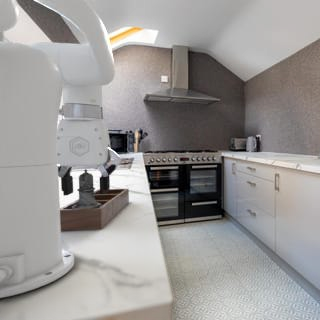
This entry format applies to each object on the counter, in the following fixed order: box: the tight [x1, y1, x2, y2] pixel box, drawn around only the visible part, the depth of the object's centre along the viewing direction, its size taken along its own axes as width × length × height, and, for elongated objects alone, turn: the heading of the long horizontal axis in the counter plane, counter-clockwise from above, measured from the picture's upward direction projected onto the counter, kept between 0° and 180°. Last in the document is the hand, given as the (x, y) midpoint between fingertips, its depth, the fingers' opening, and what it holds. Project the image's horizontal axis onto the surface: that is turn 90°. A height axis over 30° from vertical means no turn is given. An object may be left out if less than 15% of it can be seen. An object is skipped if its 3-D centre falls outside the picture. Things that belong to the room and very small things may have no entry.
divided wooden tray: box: [60, 188, 130, 232], centre depth 67 cm, size 25×9×4 cm, turn 10°
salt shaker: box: [72, 168, 102, 209], centre depth 59 cm, size 6×6×12 cm
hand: (86, 193), depth 59 cm, fingers open, 6 cm apart
